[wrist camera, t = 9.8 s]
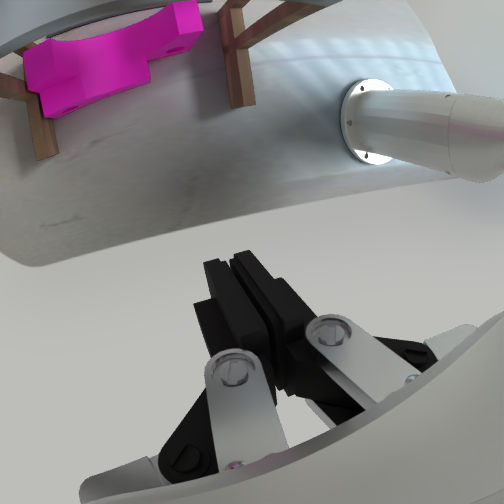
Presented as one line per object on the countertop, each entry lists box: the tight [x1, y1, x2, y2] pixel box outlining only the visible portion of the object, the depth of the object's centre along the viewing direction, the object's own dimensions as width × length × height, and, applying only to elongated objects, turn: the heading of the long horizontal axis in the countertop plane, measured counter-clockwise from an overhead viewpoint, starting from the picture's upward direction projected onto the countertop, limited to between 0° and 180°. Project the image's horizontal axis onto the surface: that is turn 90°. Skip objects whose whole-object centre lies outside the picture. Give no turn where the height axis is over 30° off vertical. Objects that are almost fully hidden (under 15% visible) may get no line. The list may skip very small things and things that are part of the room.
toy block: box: [23, 0, 204, 118], centre depth 19 cm, size 15×6×8 cm, turn 101°
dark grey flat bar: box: [48, 0, 212, 38], centre depth 19 cm, size 18×2×1 cm, turn 97°
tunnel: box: [0, 0, 343, 161], centre depth 15 cm, size 21×12×18 cm, turn 97°
